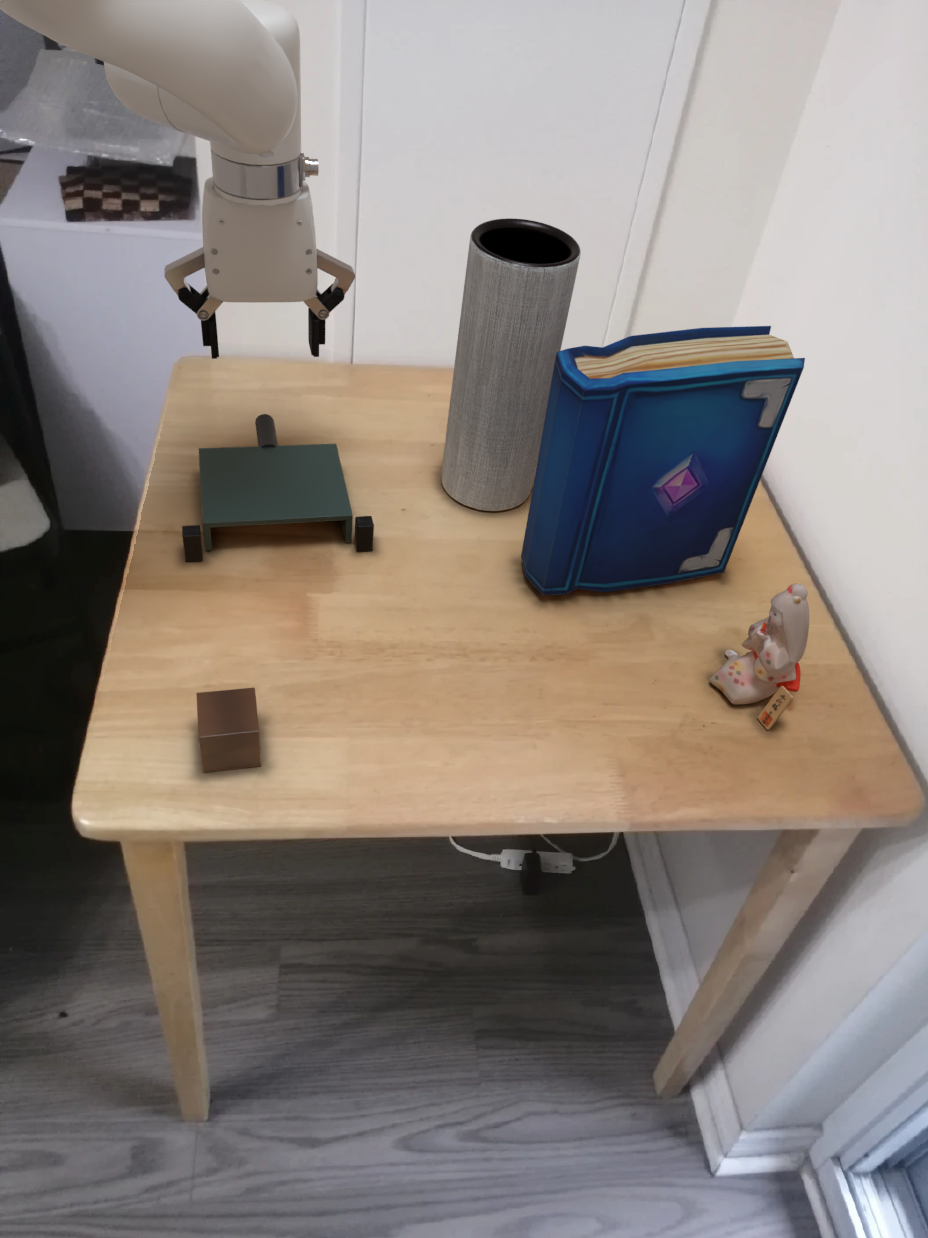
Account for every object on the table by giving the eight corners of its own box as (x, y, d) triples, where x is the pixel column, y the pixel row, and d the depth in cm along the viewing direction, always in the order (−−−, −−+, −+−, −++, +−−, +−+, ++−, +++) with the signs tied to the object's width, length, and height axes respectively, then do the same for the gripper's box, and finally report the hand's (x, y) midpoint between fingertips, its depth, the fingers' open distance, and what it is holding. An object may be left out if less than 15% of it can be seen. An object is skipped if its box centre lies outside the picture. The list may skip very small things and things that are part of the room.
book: (530, 609, 89) (584, 377, 72) (505, 560, 94) (550, 331, 76) (725, 579, 96) (818, 360, 78) (692, 535, 100) (774, 318, 83)
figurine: (692, 659, 87) (748, 557, 80) (750, 657, 90) (810, 558, 82) (741, 732, 81) (807, 628, 73) (802, 727, 83) (872, 627, 76)
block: (203, 773, 72) (198, 737, 69) (200, 728, 75) (196, 692, 72) (261, 766, 73) (259, 731, 70) (256, 722, 76) (254, 687, 73)
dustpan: (199, 445, 101) (196, 415, 99) (329, 441, 105) (329, 411, 102) (205, 550, 90) (202, 519, 87) (351, 542, 93) (352, 511, 90)
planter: (515, 454, 107) (560, 217, 88) (542, 509, 101) (597, 265, 82) (430, 459, 105) (458, 216, 86) (453, 516, 98) (488, 266, 79)
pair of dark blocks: (185, 551, 89) (181, 525, 87) (370, 540, 94) (371, 515, 91) (185, 562, 88) (182, 536, 86) (372, 550, 93) (374, 525, 90)
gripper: (351, 157, 85) (346, 330, 97) (151, 151, 81) (173, 332, 93) (363, 191, 80) (357, 369, 92) (152, 186, 76) (174, 372, 88)
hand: (264, 350), depth 93 cm, fingers open, 9 cm apart
